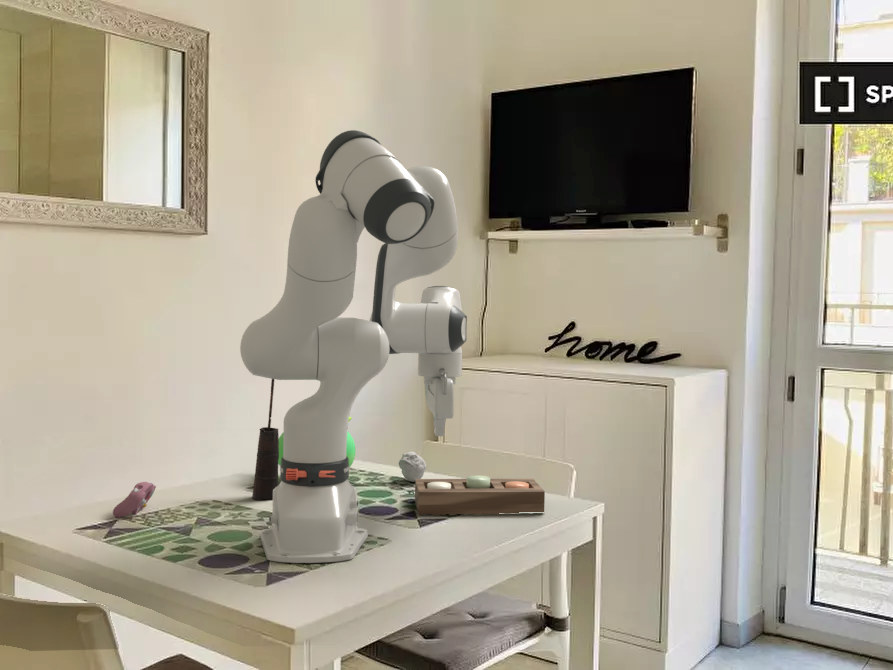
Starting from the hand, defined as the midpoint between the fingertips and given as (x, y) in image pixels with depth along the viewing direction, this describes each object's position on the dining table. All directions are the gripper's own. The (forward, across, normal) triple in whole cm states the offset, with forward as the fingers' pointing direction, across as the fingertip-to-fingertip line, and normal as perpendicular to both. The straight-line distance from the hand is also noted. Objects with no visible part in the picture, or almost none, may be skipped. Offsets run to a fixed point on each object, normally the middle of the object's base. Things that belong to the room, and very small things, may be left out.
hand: (439, 435), depth 182 cm
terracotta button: (+12, 0, -16) cm, 20 cm away
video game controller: (+15, -1, +59) cm, 61 cm away
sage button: (+11, 0, -8) cm, 14 cm away
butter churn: (+15, +9, +36) cm, 40 cm away
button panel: (+15, 0, -8) cm, 17 cm away
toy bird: (+14, +26, +26) cm, 40 cm away
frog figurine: (+15, +24, +4) cm, 29 cm away
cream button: (+12, 0, 0) cm, 13 cm away
